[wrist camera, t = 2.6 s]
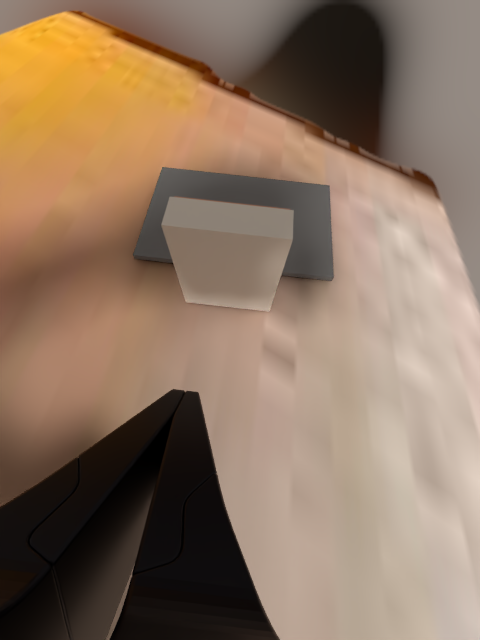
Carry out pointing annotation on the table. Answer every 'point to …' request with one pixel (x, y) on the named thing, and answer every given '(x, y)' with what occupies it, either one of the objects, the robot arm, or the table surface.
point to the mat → (304, 198)
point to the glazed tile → (227, 250)
